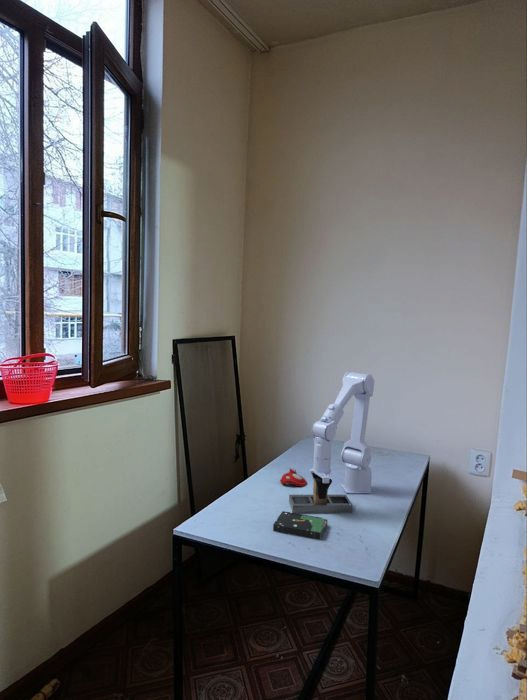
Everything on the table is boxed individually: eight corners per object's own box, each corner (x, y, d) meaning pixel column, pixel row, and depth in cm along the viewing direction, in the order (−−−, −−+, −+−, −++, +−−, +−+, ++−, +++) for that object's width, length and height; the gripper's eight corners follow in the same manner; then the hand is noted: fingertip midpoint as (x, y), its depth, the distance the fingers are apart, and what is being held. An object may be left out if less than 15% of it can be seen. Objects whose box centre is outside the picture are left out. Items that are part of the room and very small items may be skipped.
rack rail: (345, 501, 170) (345, 494, 169) (352, 512, 161) (352, 505, 161) (288, 501, 168) (289, 494, 168) (292, 513, 159) (293, 505, 159)
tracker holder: (312, 482, 184) (291, 480, 178) (308, 493, 184) (286, 491, 179) (295, 465, 194) (274, 462, 189) (291, 475, 195) (270, 473, 189)
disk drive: (272, 533, 146) (321, 541, 142) (272, 524, 146) (321, 532, 141) (281, 518, 156) (327, 526, 151) (282, 510, 156) (327, 517, 151)
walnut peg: (324, 500, 166) (325, 478, 166) (326, 505, 162) (328, 482, 162) (312, 500, 166) (313, 478, 165) (315, 505, 162) (316, 482, 161)
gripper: (306, 450, 169) (305, 487, 171) (314, 464, 155) (312, 505, 156) (326, 450, 170) (324, 487, 171) (336, 464, 156) (334, 504, 157)
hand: (320, 495), depth 164 cm, fingers closed on walnut peg, 4 cm apart
